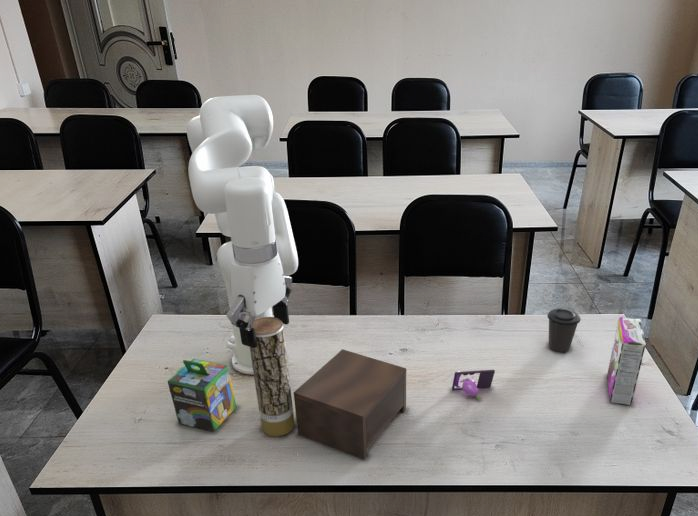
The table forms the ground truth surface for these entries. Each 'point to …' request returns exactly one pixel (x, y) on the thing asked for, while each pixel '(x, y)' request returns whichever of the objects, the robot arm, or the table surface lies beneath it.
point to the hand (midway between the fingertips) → (266, 333)
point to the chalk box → (202, 394)
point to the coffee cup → (562, 329)
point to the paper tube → (272, 377)
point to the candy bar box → (625, 360)
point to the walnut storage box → (350, 402)
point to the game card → (469, 384)
